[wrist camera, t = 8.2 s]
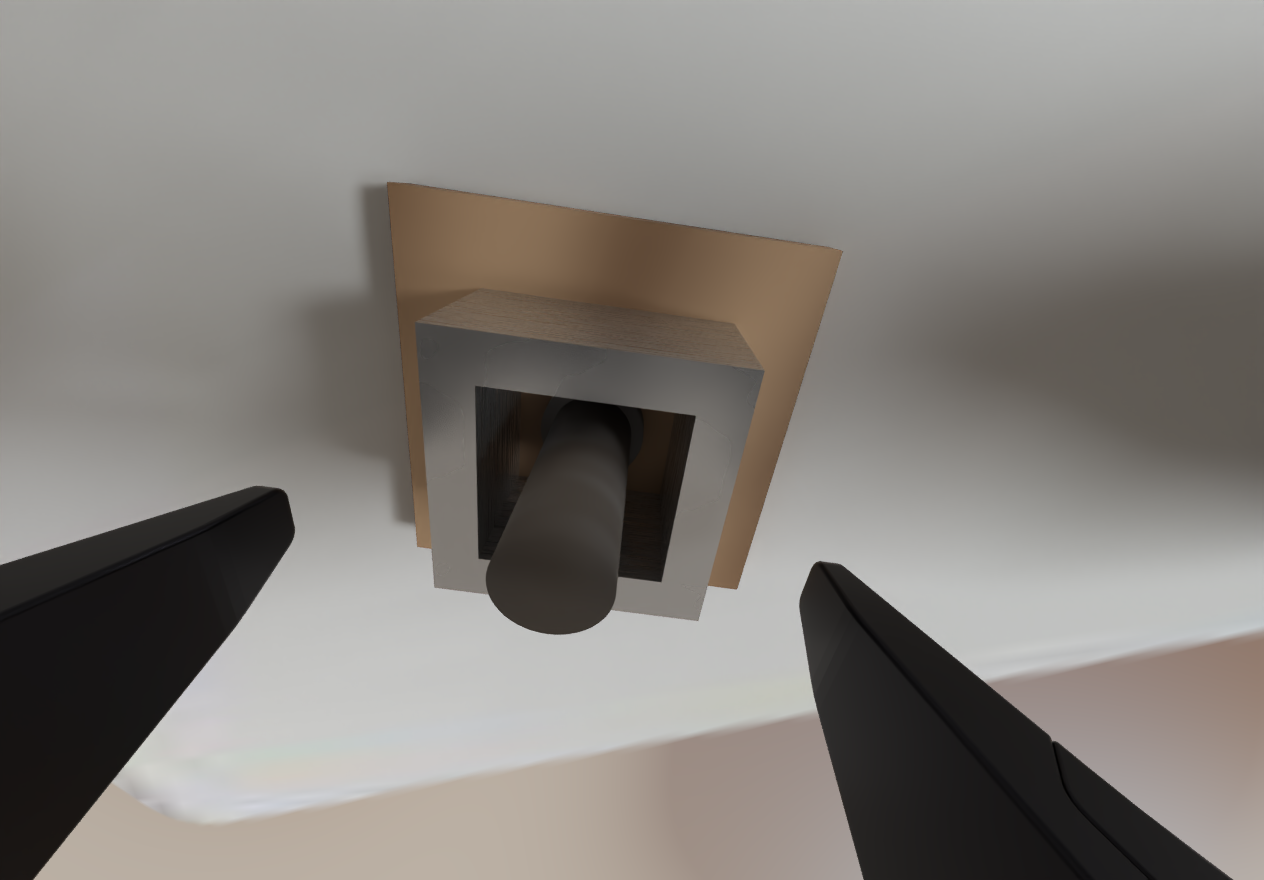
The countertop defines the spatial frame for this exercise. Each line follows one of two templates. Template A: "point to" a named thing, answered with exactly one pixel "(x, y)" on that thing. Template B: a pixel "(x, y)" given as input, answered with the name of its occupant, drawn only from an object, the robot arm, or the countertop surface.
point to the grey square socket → (592, 371)
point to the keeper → (591, 431)
